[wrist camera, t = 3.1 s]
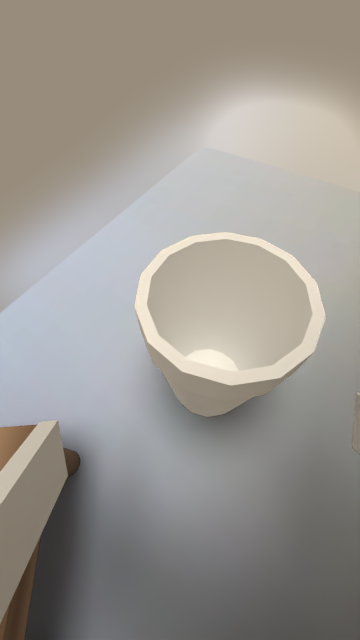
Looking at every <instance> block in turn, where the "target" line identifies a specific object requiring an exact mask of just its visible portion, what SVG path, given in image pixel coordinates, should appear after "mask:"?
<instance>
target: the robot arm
mask: <svg viewBox="0 0 360 640" xmlns="http://www.w3.org/2000/svg"><path fill="white" fill-rule="evenodd" d="M352 448H353V449H354V450H356V451H357V452H358V453H359V454H360V393H356V400H355V413H354V426H353V439H352ZM67 476H68V473H67V468H66V462H65V456H64V451H63V445H62V440H61V434H60V428H59V423H58V420H54V421H43V422H39V423H38V425H37V426H36V427H35V428H34V430H33V431H32V432H31V433H30V435H29V436H28V437H27V438H26V440H25V441H24V442H23V444H22V445H21V446H20V447H19V449H18V450H17V451H16V452H15V454H14V455H13V456H12V457H11V459H10V460H9V461H8V462H7V464H6V465H5V466H4V468H3V469H2V470H1V471H0V623H1V621H2V619H3V617H4V615H5V612H6V610H7V608H8V606H9V604H10V601H11V599H12V597H13V595H14V593H15V591H16V588H17V586H18V584H19V582H20V580H21V577H22V575H23V573H24V571H25V569H26V566H27V564H28V562H29V560H30V558H31V555H32V553H33V551H34V549H35V547H36V544H37V542H38V540H39V538H40V536H41V533H42V531H43V529H44V527H45V525H46V522H47V520H48V518H49V516H50V514H51V512H52V509H53V507H54V505H55V503H56V501H57V498H58V496H59V494H60V492H61V490H62V487H63V485H64V483H65V481H66V479H67Z"/></svg>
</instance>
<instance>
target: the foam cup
mask: <svg viewBox="0 0 360 640" xmlns="http://www.w3.org/2000/svg"><path fill="white" fill-rule="evenodd" d="M134 307H135V311H136V315H137V318H138V322H139V326H140V330H141V333H142V335H143V338H144V341H145V344H146V346H147V349H148V352H149V354H150V357H151V360H152V362H153V363H154V364H155V365H156V366H157V367H158V368H159V369H160V370H161V371H162V372H163V374H164V376H165V378H166V379H167V381H168V383H169V385H170V386H171V388H172V390H173V392H174V393H175V395H176V397H177V399H178V400H179V402H181V403H182V404H183V405H184V406H185V407H186V408H187V409H188V410H189V411H190V412H192V413H195V414H198V415H201V416H205V417H211V416H217V415H223V414H225V413H227V412H229V411H230V410H232V409H234V408H235V407H237V406H239V405H240V404H242V403H244V402H246V401H247V400H249V399H251V398H252V397H254V396H260V395H266V394H267V393H268V392H269V391H271V390H272V389H273V388H275V387H276V386H277V385H278V384H280V383H281V382H282V381H284V380H285V379H286V378H288V377H289V376H290V375H291V374H293V373H294V372H295V371H296V370H297V369H298V368H299V367H300V366H301V365H302V364H303V363H304V362H305V361H306V360H307V359H308V358H309V357H310V356H311V355H312V354H313V353H314V351H315V348H316V345H317V342H318V339H319V336H320V333H321V330H322V327H323V324H324V321H325V318H326V316H325V312H324V308H323V304H322V300H321V297H320V293H319V289H318V285H317V283H316V281H315V280H314V279H313V278H312V277H311V276H310V275H309V273H308V272H307V271H306V270H305V269H304V268H303V267H302V265H301V264H300V263H299V262H298V261H297V260H296V259H295V257H294V256H292V255H290V254H289V253H287V252H285V251H283V250H281V249H279V248H277V247H276V246H274V245H272V244H270V243H268V242H266V241H265V240H263V239H260V238H255V237H249V236H244V235H239V234H234V233H229V232H222V233H213V234H204V235H195V236H190V237H188V238H186V239H184V240H182V241H180V242H178V243H176V244H173V245H171V246H169V247H167V248H165V249H163V250H161V251H160V253H159V254H158V255H157V256H156V257H155V258H154V260H153V261H152V262H151V263H150V264H149V265H148V267H147V268H146V269H145V270H144V271H143V272H142V274H141V276H140V281H139V286H138V291H137V296H136V301H135V306H134Z"/></svg>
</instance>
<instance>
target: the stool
mask: <svg viewBox="0 0 360 640" xmlns="http://www.w3.org/2000/svg"><path fill="white" fill-rule="evenodd" d="M36 426H37V425H27V426H14V427H1V428H0V471H1V470H2V469H3V468H4V466H5V465H6V464H7V462H8V461H9V460H10V459H11V457H12V456H13V455H14V454H15V452H16V451H17V450H18V449H19V447H20V446H21V445H22V444H23V442H24V441H25V440H26V438H27V437H28V436H29V435H30V433H31V432H32V431H33V430H34V428H35V427H36ZM63 451H64V456H65V462H66V468H67V473H68V476H71V475H72V474H74V473H75V472H76V471H77V469H78V467H79V465H80V457H79V455H78V454H77V453H76V452H74V451H72V450H69V449H66V448H63ZM40 538H41V536H40ZM40 538H39V540H38V542H37V544H36V547H35V549H34V551H33V553H32V555H31V558H30V560H29V562H28V564H27V566H26V569H25V571H24V573H23V575H22V577H21V580H20V582H19V584H18V586H17V588H16V591H15V593H14V595H13V597H12V599H11V601H10V604H9V606H8V608H7V610H6V612H5V615H4V617H3V619H2V621H1V623H0V640H24V637H25V631H26V625H27V618H28V612H29V606H30V600H31V594H32V587H33V581H34V575H35V569H36V563H37V556H38V550H39V544H40Z"/></svg>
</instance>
